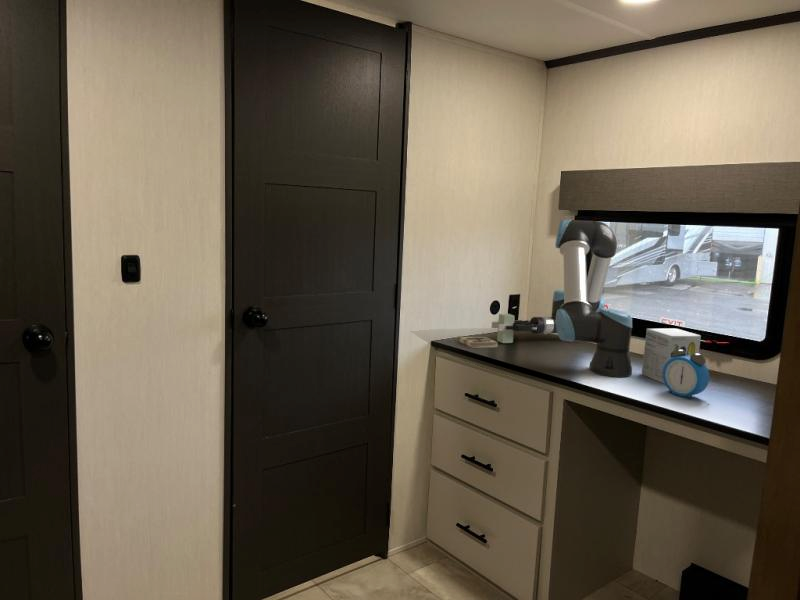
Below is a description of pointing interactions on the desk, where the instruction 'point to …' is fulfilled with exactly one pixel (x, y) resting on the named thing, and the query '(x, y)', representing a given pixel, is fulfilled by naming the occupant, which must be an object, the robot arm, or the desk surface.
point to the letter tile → (478, 342)
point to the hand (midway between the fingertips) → (495, 326)
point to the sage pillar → (505, 335)
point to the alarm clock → (686, 373)
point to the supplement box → (666, 349)
